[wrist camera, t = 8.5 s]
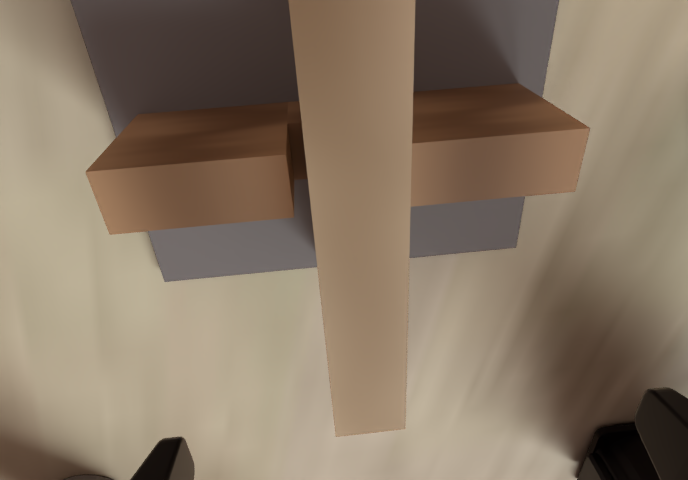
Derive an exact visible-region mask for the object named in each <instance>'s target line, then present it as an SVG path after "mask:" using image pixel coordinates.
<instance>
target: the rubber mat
mask: <svg viewBox="0 0 688 480" xmlns="http://www.w3.org/2000/svg"><path fill="white" fill-rule="evenodd" d="M71 3H72V6H73V9H74V12H75V15H76V18H77V21H78V24H79V27H80V30H81V33H82V36H83V39H84V42H85V45H86V48H87V51H88V54H89V57H90V60H91V63H92V66H93V69H94V72H95V75H96V78H97V81H98V84H99V87H100V90H101V93H102V96H103V99H104V102H105V105H106V108H107V111H108V114H109V117H110V120H111V123H112V126H113V129H114V132H115V135H116V138H117V137H118V135H119V134H120V133H121V132H122V131H123V130H124V129H125V128H126V127H127V126H128V124H129V123H130V122H131V121H132V120H133V119H134V118H135V117H136V116H137V115H138V114H147V113H159V112H172V111H184V110H196V109H208V108H221V107H233V106H245V105H257V104H270V103H282V102H294V101H299V93H298V84H297V75H296V66H295V56H294V47H293V38H292V29H291V20H290V10H289V1H288V0H71ZM558 3H559V0H415V40H414V82H413V92H417V91H429V90H441V89H453V88H465V87H478V86H490V85H502V84H514V83H519V84H521V85H523V86H524V87H526V88H527V89H529V90H530V91H532V92H534V93H535V94H537V95H538V96H540V97H542V95H543V90H544V84H545V78H546V72H547V67H548V61H549V55H550V49H551V44H552V38H553V32H554V26H555V21H556V15H557V9H558ZM524 199H525V196H521V197H510V198H499V199H488V200H478V201H467V202H456V203H445V204H435V205H424V206H413V207H411V210H410V252H409V258H415V257H425V256H435V255H445V254H455V253H466V252H476V251H486V250H496V249H507V248H516V245H517V239H518V234H519V228H520V222H521V216H522V211H523V205H524ZM148 233H149V236H150V239H151V242H152V245H153V248H154V251H155V254H156V257H157V260H158V263H159V266H160V269H161V272H162V275H163V278H164V281H165V282H169V281H179V280H189V279H199V278H210V277H220V276H230V275H240V274H251V273H261V272H271V271H281V270H292V269H302V268H312V267H317V259H316V250H315V241H314V232H313V222H312V213H311V204H310V195H309V185H308V179H301V180H294V218H284V219H273V220H262V221H251V222H240V223H230V224H219V225H208V226H197V227H186V228H176V229H165V230H154V231H148Z"/></svg>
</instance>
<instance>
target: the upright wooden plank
mask: <svg viewBox="0 0 688 480" xmlns="http://www.w3.org/2000/svg"><path fill="white" fill-rule="evenodd" d="M288 1H289V10H290V20H291V29H292V38H293V47H294V56H295V66H296V75H297V84H298V93H299V103H300V112H301V121H302V130H303V139H304V149H305V158H306V167H307V176H308V185H309V195H310V204H311V213H312V222H313V232H314V241H315V250H316V259H317V268H318V278H319V287H320V296H321V305H322V314H323V324H324V333H325V342H326V351H327V361H328V370H329V379H330V388H331V397H332V407H333V416H334V425H335V434H336V437H340V436H349V435H357V434H366V433H375V432H384V431H392V430H401V429H405V421H406V379H407V337H408V294H409V252H410V210H411V167H412V125H413V82H414V40H415V0H288Z"/></svg>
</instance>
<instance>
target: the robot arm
mask: <svg viewBox="0 0 688 480" xmlns="http://www.w3.org/2000/svg"><path fill="white" fill-rule="evenodd" d="M130 480H194V462H193V459H192V456H191V453H190V451H189V448H188V446H187V443H186V441H185V439H184V438H183V437H172V438H164V439H162V440H160V441H159V442H158V443H157V445H156V446H155V447H154V449H153V450H152V451H151V453H150V454H149V455H148V457H147V458H146V459H145V461H144V462H143V463H142V465H141V466H140V467H139V469H138V470H137V471H136V473H135V474H134V475H133V477H132V478H131V479H130ZM577 480H688V398H686V397H684V396H683V395H681V394H680V393H678V392H677V391H675V390H673V389H671V388H666V387H663V388H653V389H648V390H646V391H645V393H644V395H643V397H642V399H641V401H640V404H639V406H638V408H637V411H636V413H635V424H629V425H620V426H611V427H604V428H600V429H598V430H597V431H596V432H595V435H594V437H593V440H592V442H591V445H590V448H589V450H588V453H587V455H586V458H585V461H584V463H583V466H582V468H581V471H580V474H579V476H578V479H577Z"/></svg>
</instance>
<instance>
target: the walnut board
mask: <svg viewBox="0 0 688 480" xmlns="http://www.w3.org/2000/svg"><path fill="white" fill-rule="evenodd" d="M589 131H590V128H589V127H587V126H586V125H584V124H583V123H581V122H580V121H578V120H576V119H575V118H573V117H572V116H570V115H568V114H567V113H565V112H564V111H562V110H561V109H559V108H557V107H556V106H554V105H553V104H551V103H549V102H548V101H546V100H545V99H543V98H542V97H540V96H538V95H537V94H535V93H534V92H532V91H530V90H529V89H527V88H526V87H524V86H523V85H521V84H519V83H514V84H502V85H490V86H478V87H465V88H453V89H441V90H429V91H417V92H413V125H412V167H411V207H413V206H424V205H435V204H445V203H456V202H467V201H478V200H488V199H499V198H510V197H521V196H532V195H542V194H553V193H564V192H575V190H576V185H577V181H578V177H579V173H580V168H581V164H582V160H583V156H584V152H585V147H586V143H587V139H588V135H589ZM86 175H87V177H88V180H89V182H90V185H91V188H92V190H93V193H94V195H95V198H96V200H97V203H98V206H99V208H100V211H101V213H102V216H103V219H104V221H105V224H106V226H107V229H108V231H109V234H110V235H111V234H122V233H133V232H143V231H154V230H165V229H176V228H186V227H197V226H208V225H219V224H230V223H240V222H251V221H262V220H273V219H284V218H294V180H301V179H308V176H307V167H306V158H305V149H304V139H303V130H302V121H301V112H300V103H299V101H294V102H282V103H270V104H257V105H245V106H233V107H221V108H208V109H196V110H184V111H172V112H159V113H147V114H138V115H137V116H136V117H135V118H134V119H133V120H132V121H131V122H130V123H129V124H128V126H127V127H126V128H125V129H124V130H123V131H122V132H121V133H120V134H119V135H118V137H117V138H116V139H115V140H114V141H113V142H112V143H111V144H110V145H109V146H108V148H107V149H106V150H105V151H104V152H103V153H102V154H101V155H100V156H99V157H98V159H97V160H96V161H95V162H94V163H93V164H92V165H91V166H90V167H89V169H88V170H87V171H86Z"/></svg>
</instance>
